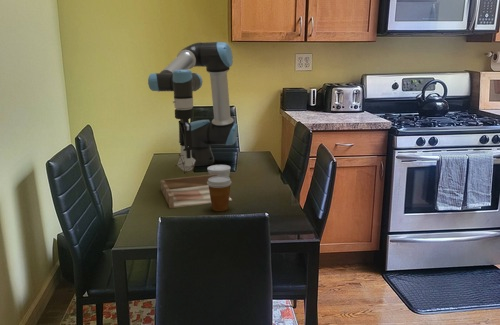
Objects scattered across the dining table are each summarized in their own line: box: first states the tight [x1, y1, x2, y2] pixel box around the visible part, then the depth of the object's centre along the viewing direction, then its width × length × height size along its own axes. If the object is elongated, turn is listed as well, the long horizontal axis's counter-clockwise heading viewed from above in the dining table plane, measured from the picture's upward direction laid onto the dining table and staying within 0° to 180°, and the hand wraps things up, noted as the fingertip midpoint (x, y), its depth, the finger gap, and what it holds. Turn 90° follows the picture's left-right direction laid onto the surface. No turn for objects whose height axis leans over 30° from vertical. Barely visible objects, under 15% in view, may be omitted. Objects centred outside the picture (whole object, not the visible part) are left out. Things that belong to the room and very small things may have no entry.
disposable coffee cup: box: [207, 176, 233, 212], centre depth 177 cm, size 10×10×12 cm
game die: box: [174, 153, 198, 174], centre depth 188 cm, size 9×8×10 cm
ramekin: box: [206, 164, 232, 178], centre depth 219 cm, size 11×11×5 cm
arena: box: [160, 174, 233, 209], centre depth 193 cm, size 24×26×5 cm
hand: (186, 163), depth 188 cm, fingers closed on game die, 8 cm apart
